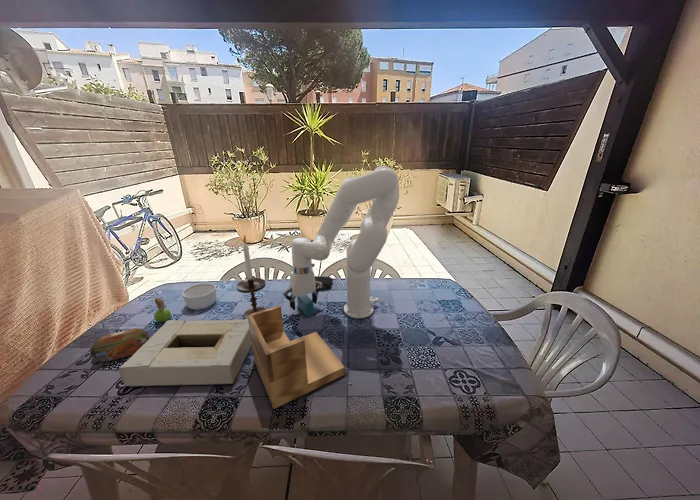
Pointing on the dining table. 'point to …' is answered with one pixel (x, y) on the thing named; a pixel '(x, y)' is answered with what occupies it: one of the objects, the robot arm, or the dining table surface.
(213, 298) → the ramekin
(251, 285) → the candlestick
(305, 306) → the teal rectangular block
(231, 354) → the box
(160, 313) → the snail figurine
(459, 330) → the dining table surface
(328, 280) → the carrying case
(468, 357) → the dining table surface
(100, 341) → the tin
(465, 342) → the dining table surface
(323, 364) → the shelf
